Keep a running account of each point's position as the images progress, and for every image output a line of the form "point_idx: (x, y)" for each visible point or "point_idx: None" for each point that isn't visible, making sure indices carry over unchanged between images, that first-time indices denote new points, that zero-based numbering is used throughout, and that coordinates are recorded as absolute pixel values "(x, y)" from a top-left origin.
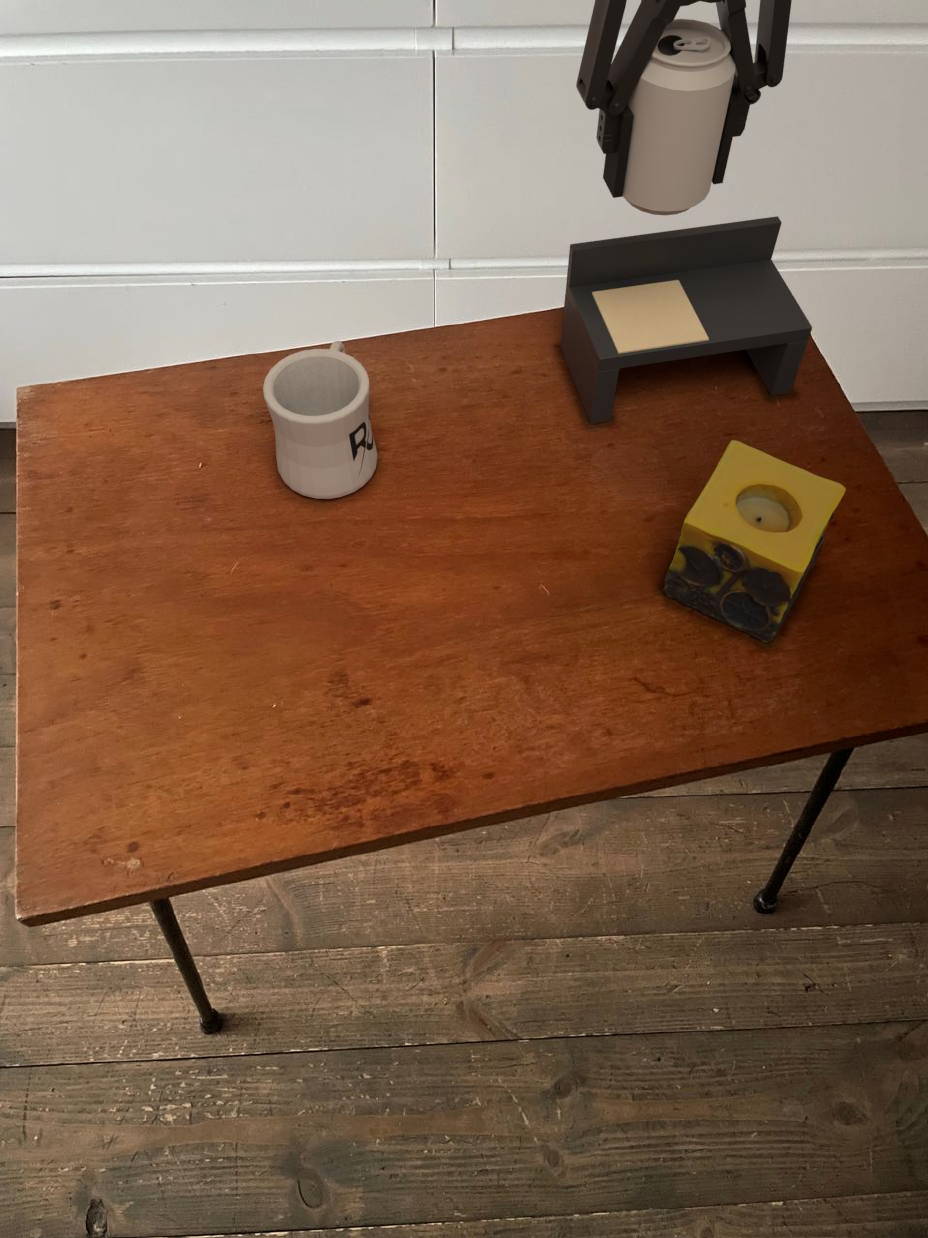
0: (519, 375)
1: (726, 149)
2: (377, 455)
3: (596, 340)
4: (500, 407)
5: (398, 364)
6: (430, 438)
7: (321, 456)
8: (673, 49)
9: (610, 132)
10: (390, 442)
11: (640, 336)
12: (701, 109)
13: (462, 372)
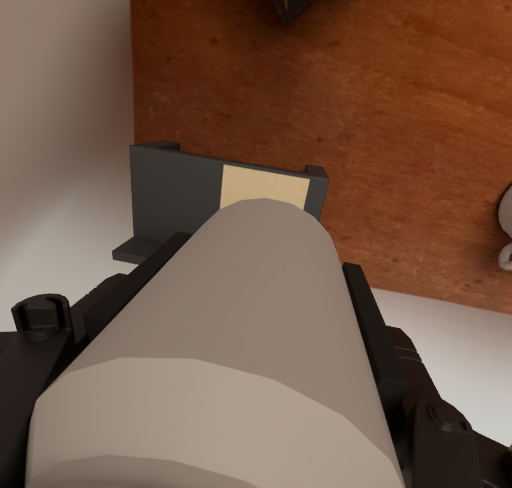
0: (345, 234)
1: (156, 257)
2: (508, 192)
3: (319, 203)
4: (377, 210)
5: (421, 277)
6: (446, 200)
7: None
8: None
9: (408, 361)
10: (477, 208)
11: (280, 191)
12: (223, 299)
13: (383, 252)
